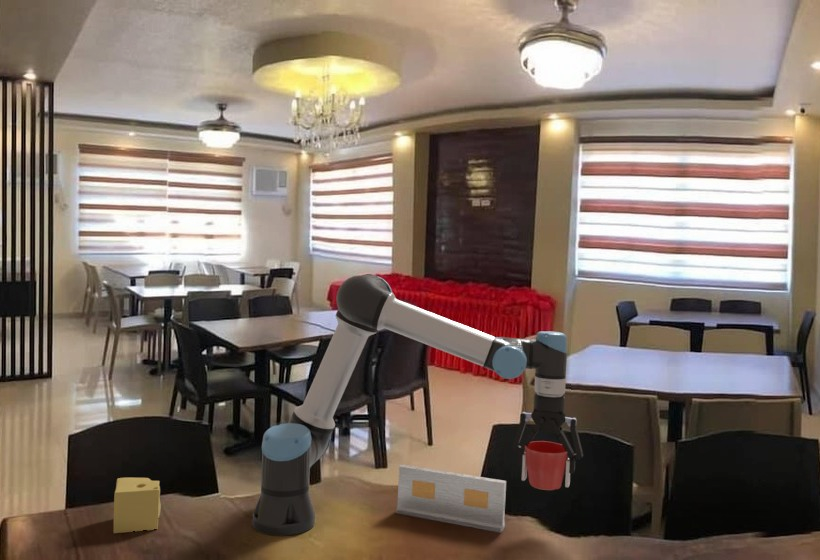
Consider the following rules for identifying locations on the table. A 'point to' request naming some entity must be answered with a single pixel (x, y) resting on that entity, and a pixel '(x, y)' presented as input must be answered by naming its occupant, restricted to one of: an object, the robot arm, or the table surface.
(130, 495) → the cheese
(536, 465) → the flower pot
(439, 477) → the label panel
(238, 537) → the table surface
